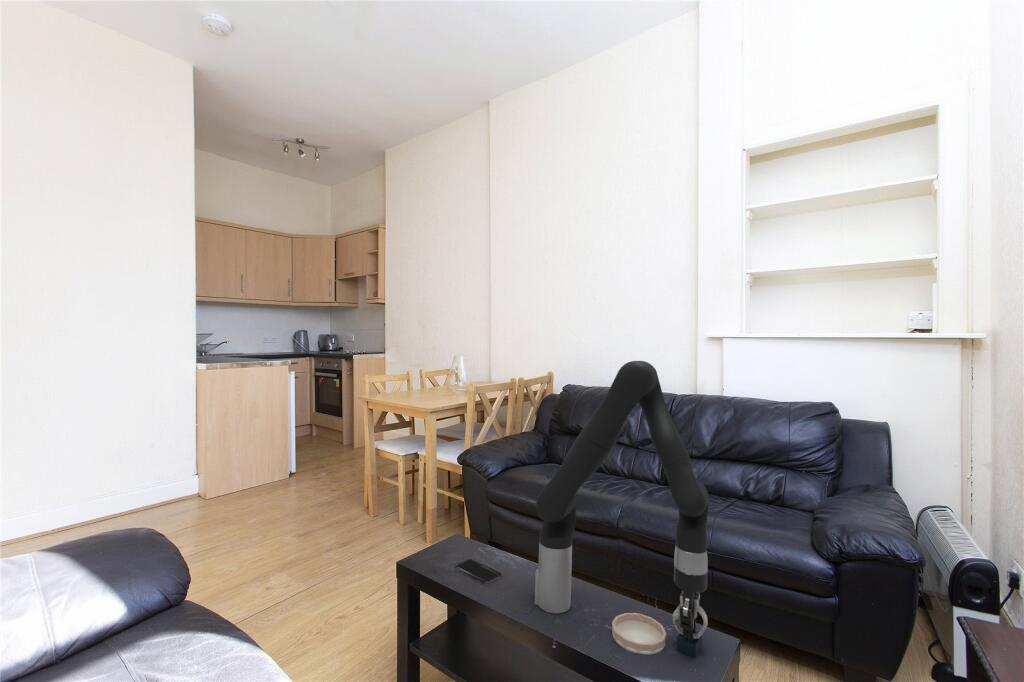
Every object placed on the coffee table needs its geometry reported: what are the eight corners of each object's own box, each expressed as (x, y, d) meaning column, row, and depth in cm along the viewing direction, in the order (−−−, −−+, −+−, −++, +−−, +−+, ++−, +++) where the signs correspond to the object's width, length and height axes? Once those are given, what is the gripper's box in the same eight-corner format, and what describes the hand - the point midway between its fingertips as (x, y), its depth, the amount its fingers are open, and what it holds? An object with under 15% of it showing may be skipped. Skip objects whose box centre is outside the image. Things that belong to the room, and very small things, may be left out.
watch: (675, 636, 113) (676, 592, 113) (709, 650, 108) (710, 603, 108) (668, 647, 109) (669, 601, 109) (703, 662, 104) (704, 614, 104)
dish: (605, 642, 110) (605, 632, 110) (621, 616, 121) (621, 607, 121) (658, 661, 103) (659, 651, 103) (670, 632, 114) (670, 623, 114)
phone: (486, 583, 135) (453, 566, 145) (485, 587, 134) (453, 569, 145) (503, 574, 140) (471, 558, 150) (503, 577, 140) (471, 561, 150)
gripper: (679, 551, 117) (678, 618, 116) (668, 573, 105) (666, 648, 104) (711, 558, 113) (709, 627, 113) (703, 583, 101) (701, 660, 100)
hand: (689, 637), depth 108 cm, fingers closed on watch, 3 cm apart
